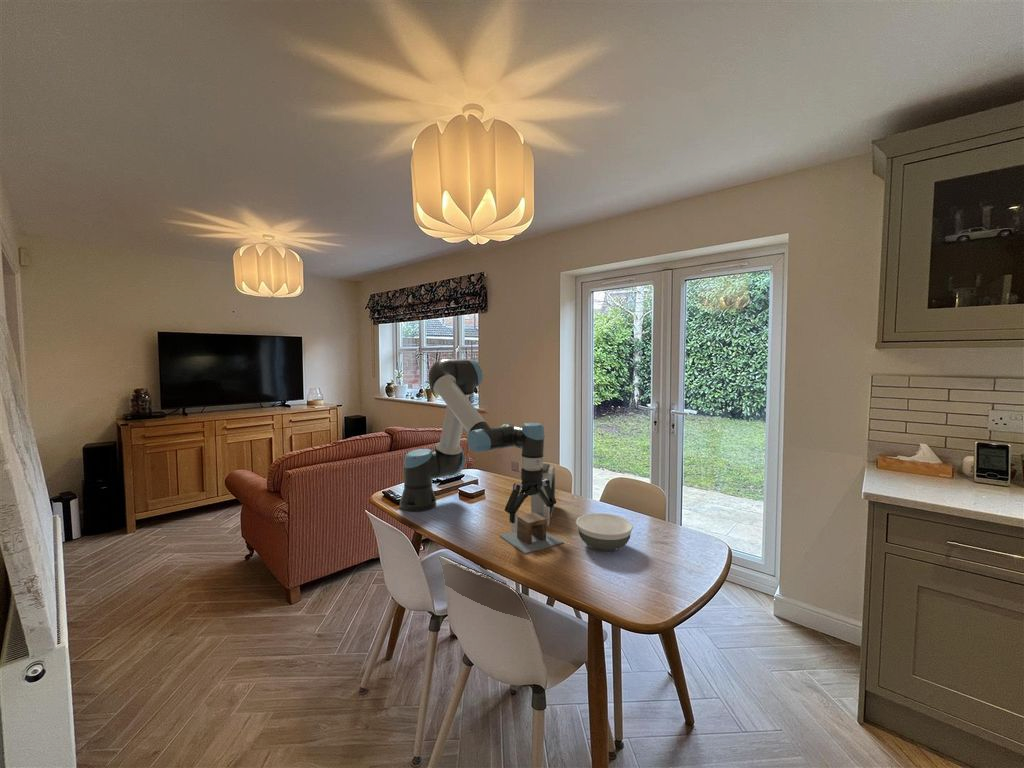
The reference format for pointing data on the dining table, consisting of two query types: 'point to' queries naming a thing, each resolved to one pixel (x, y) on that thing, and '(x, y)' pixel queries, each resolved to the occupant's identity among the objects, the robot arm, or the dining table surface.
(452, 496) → the dining table surface
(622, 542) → the bowl
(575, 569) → the dining table surface
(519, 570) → the dining table surface
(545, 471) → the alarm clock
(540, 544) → the mat
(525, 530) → the notched open box
